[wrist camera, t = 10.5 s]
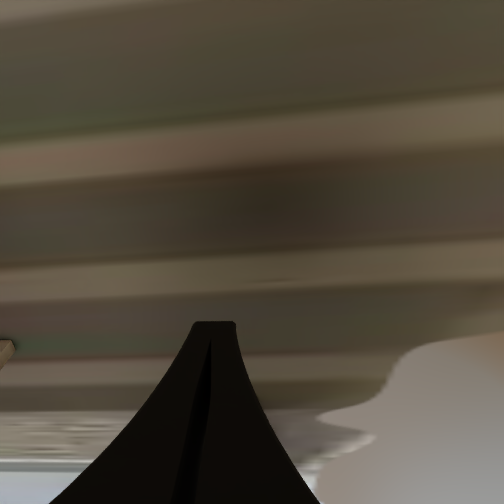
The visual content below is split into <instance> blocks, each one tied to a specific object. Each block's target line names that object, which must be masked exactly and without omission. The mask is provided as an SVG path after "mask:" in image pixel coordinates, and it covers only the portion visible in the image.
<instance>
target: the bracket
mask: <svg viewBox="0 0 504 504" xmlns="http://www.w3.org/2000/svg"><path fill="white" fill-rule="evenodd" d="M15 350H16V349H15V347H14V345H13V343H12V341H11V340H0V370H1V369H2V367H3V366H4V365H5V363H6V362H7V361H8V360H9V358H10V357H11V356H12V354H13V353H14V352H15Z"/></svg>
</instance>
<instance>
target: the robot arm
mask: <svg viewBox="0 0 504 504" xmlns="http://www.w3.org/2000/svg"><path fill="white" fill-rule="evenodd" d="M49 504H320V503H319V501H318V500H317V499H316V497H315V496H314V494H313V493H312V492H311V490H310V489H309V487H308V486H307V484H306V483H305V481H304V480H303V478H302V477H301V475H300V474H299V472H298V471H297V469H296V468H295V466H294V464H293V463H292V461H291V459H290V458H289V456H288V454H287V453H286V451H285V450H284V448H283V446H282V445H281V443H280V441H279V440H278V438H277V436H276V434H275V432H274V431H273V429H272V427H271V425H270V423H269V421H268V419H267V417H266V415H265V413H264V411H263V409H262V407H261V405H260V403H259V401H258V398H257V396H256V394H255V391H254V389H253V387H252V384H251V382H250V379H249V377H248V374H247V371H246V368H245V365H244V362H243V359H242V356H241V353H240V349H239V345H238V340H237V335H236V324H235V323H234V322H233V321H196V322H195V323H194V324H193V326H192V328H191V330H190V332H189V334H188V336H187V338H186V340H185V342H184V344H183V346H182V348H181V349H180V351H179V353H178V355H177V356H176V358H175V359H174V361H173V363H172V364H171V366H170V368H169V369H168V371H167V372H166V374H165V375H164V377H163V378H162V380H161V381H160V383H159V384H158V385H157V387H156V388H155V390H154V391H153V393H152V394H151V395H150V397H149V398H148V399H147V401H146V402H145V403H144V405H143V406H142V407H141V408H140V410H139V411H138V412H137V413H136V415H135V416H134V417H133V418H132V420H131V421H130V422H129V423H128V424H127V426H126V427H125V428H124V429H123V430H122V431H121V432H120V433H119V435H118V436H117V437H116V438H115V439H114V440H113V441H112V442H111V444H110V445H109V446H108V447H107V448H106V449H105V450H104V451H103V452H102V453H101V454H100V455H99V456H98V457H97V458H96V459H95V460H94V461H93V462H92V463H91V464H90V465H89V466H88V467H87V468H86V469H85V470H84V471H83V472H82V473H81V474H80V475H79V476H78V477H77V478H76V479H75V480H74V481H73V482H72V483H71V484H70V485H69V486H68V487H67V488H66V489H65V490H63V491H62V492H61V493H60V494H59V495H58V496H57V497H56V498H55V499H53V500H52V501H51V502H50V503H49Z"/></svg>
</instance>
